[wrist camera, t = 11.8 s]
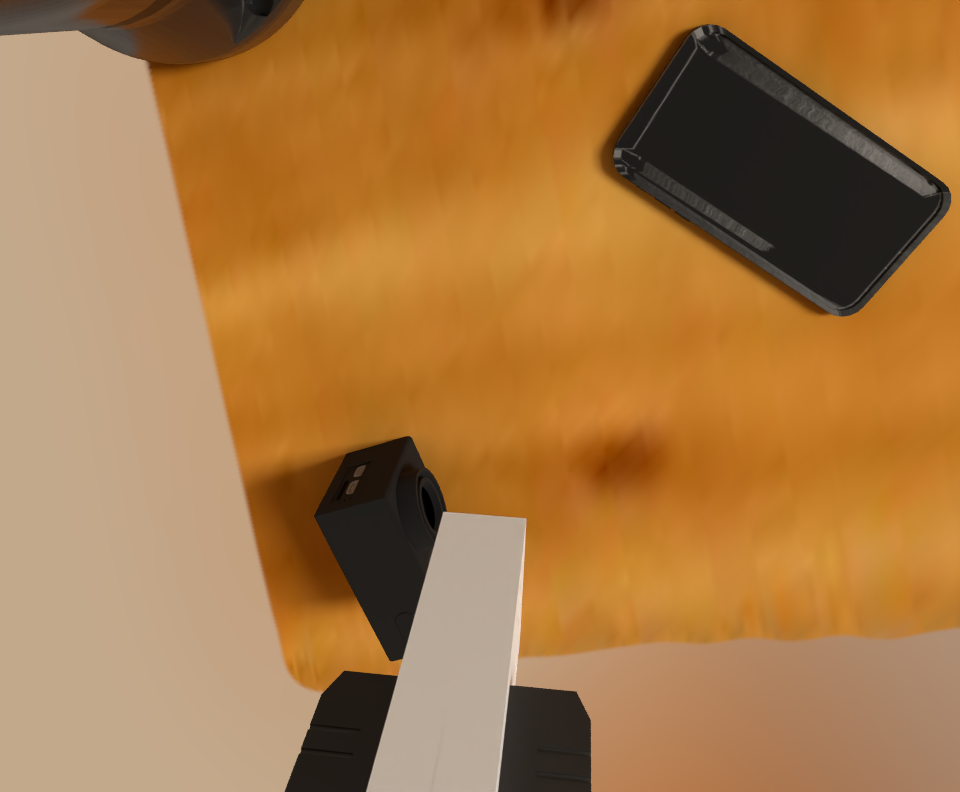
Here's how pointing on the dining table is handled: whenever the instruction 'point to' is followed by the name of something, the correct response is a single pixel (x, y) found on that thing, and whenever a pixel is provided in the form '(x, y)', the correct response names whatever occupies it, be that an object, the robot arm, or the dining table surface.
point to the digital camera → (384, 533)
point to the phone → (778, 172)
